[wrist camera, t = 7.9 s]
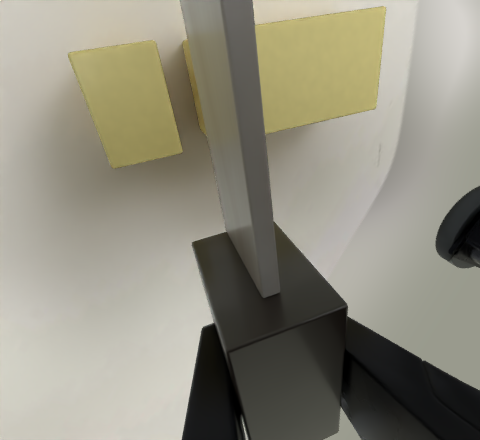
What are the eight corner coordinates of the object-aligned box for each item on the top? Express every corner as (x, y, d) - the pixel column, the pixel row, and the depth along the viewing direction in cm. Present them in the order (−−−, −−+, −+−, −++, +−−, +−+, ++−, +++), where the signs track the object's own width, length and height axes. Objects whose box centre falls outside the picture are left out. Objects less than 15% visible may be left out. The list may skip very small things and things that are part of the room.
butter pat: (151, 46, 11) (155, 39, 8) (174, 136, 13) (183, 153, 10) (83, 56, 10) (65, 52, 8) (117, 148, 12) (112, 170, 10)
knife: (222, 353, 10) (257, 472, 7) (107, -54, 5) (54, -271, 2) (283, 330, 11) (339, 433, 8) (243, -65, 5) (393, -250, 2)
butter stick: (337, 17, 13) (387, 5, 10) (334, 101, 14) (377, 109, 12) (181, 40, 11) (194, 33, 9) (200, 131, 13) (215, 146, 10)
